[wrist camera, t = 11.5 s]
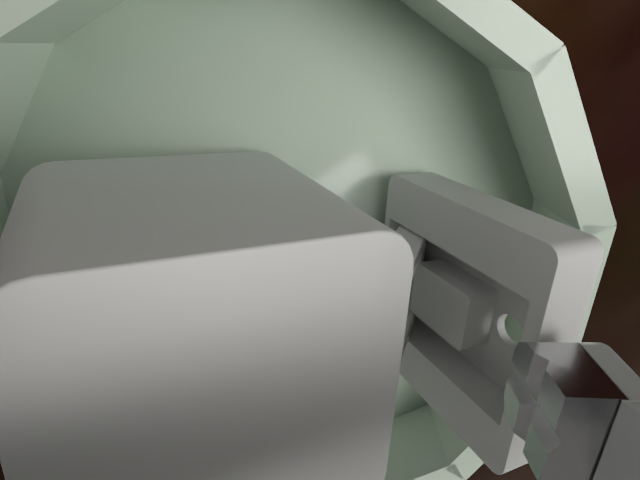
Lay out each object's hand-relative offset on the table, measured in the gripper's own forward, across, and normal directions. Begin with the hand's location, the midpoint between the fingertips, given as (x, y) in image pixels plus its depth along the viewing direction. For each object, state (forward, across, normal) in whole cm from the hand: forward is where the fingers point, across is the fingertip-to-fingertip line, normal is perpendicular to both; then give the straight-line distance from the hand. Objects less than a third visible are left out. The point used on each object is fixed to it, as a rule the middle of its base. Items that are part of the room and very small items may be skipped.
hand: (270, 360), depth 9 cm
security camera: (+4, -5, 0) cm, 6 cm away
